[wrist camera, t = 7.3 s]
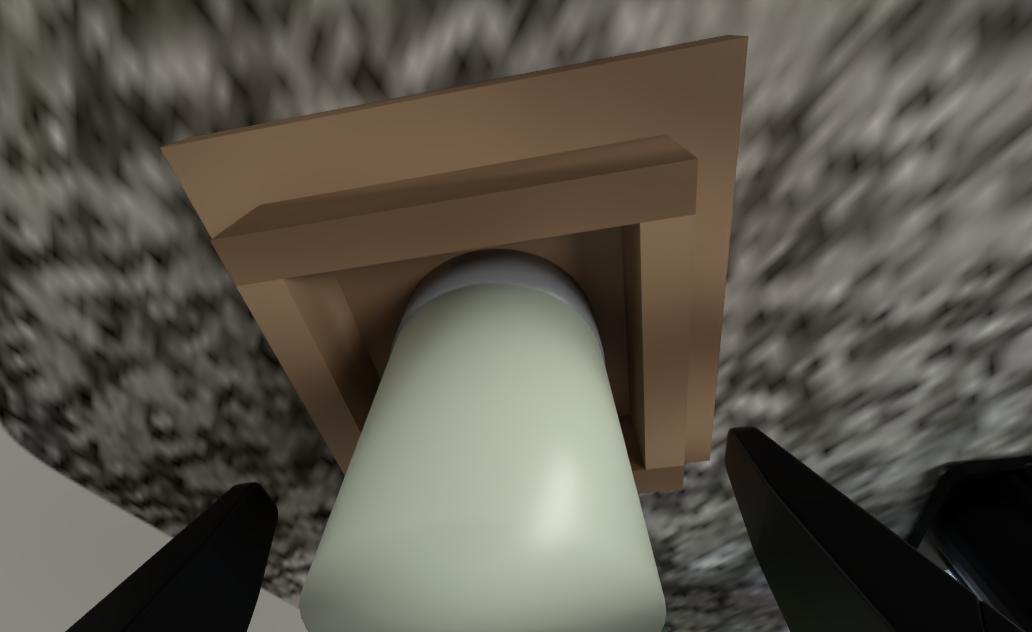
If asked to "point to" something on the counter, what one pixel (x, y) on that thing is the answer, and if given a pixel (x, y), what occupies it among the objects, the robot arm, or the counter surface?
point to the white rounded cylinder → (489, 471)
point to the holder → (495, 226)
